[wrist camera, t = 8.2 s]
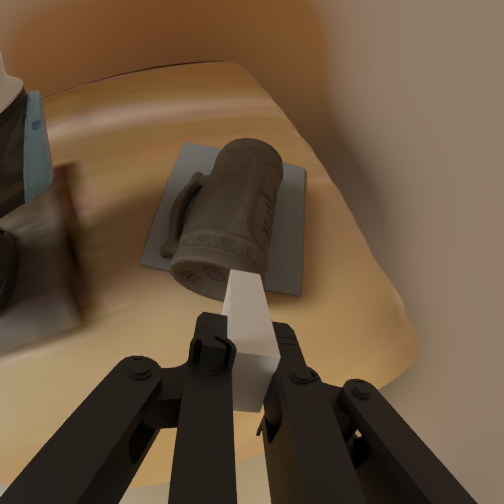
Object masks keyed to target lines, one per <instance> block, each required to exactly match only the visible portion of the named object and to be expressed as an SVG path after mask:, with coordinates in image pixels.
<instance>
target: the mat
mask: <svg viewBox="0 0 504 504" xmlns="http://www.w3.org/2000/svg"><path fill="white" fill-rule="evenodd" d="M221 150H222V149H220V148H215V147H209V146H204V145H198V144H192V143H186V142H185V143H184V145H183V148H182V150H181V152H180V155H179V157H178V159H177V162H176V164H175V166H174V169H173V171H172V174H171V176H170V179H169V181H168V184H167V186H166V189H165V191H164V194H163V196H162V199H161V202H160V204H159V207H158V210H157V213H156V215H155V218H154V221H153V224H152V227H151V230H150V233H149V236H148V239H147V242H146V245H145V248H144V251H143V254H142V257H141V260H140V265H141V266H145V267H150V268H154V269H159V270H163V271H168V272H170V270H169V264H170V261H171V259H172V258H173V256H171V257H169V258H162V256H161V255H160V253H159V249H160V246H161V245H163V244H164V243H165V242H166V241H167V239H168V237H169V222H170V213H171V209H172V206H173V204H174V201H175V199H176V197H177V196H178V194H179V193H180V192H181V191H182V189H183V188H184V187H185V186H186V185H187V184H188V183H189V181H190V180H191V177H192V175H193V174H194V173H196V172H201V173H202V174H203V175H210V174H211V171H212V169H213V167H214V163H215V159H216V157H217V155H218V154H219V152H220V151H221ZM282 163H283V162H282ZM283 170H284V172H283V180H282V182H281V184H280V187H279V191H278V196H277V202H276V208H275V216H274V223H273V229H272V235H271V241H270V246H269V253H268V261H269V265H268V270H267V271H266V274H265V291H271V292H276V293H282V294H288V295H294V296H301V292H302V271H303V245H304V189H305V173H304V168H302V167H298V166H294V165H290V164H286V163H283ZM200 191H201V188H200V189H199V190H198V191H197V192H196V193H195V194H194V196H193V197H192V198H191V200H190V202H189V204H188V206H187V209H186V212H185V217H184V222H183V228H182V232H183V230H184V228H185V224H186V222H187V220H188V218H189V216H190V214H191V212H192V209H193V207H194V205H195V202H196V200H197V198H198V195H199V193H200Z"/></svg>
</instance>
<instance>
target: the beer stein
mask: <svg viewBox="0 0 504 504" xmlns="http://www.w3.org/2000/svg"><path fill="white" fill-rule="evenodd" d="M283 172H284V170H283V163H282V159H281V157H280V155H279V154H278V152H277V151H276V150H275V149H274V148H273V147H272V146H271V145H269V144H267V143H266V142H263V141H261V140H257V139H251V138H242V139H236V140H234V141H232V142H230V143H228V144H227V145H225V147H224V148H223V149H222V150H221V151H220V152H219V154H218V155H217V157H216V159H215V163H214V167H213V169H212V171H211V174H210V175H203V174H202V173H201V172H196V173H194V174H193V175H192V177H191V180H190V181H189V183H188V184H187V185H186V186H185V187H184V188H183V189H182V191H181V192H180V193H179V194H178V196H177V197H176V199H175V201H174V204H173V206H172V209H171V213H170V222H169V237H168V239H167V241H166V242H165V243H164V244H163V245H161V246H160V249H159V253H160V255H161V256H162V258H169V257H171V256H173V258H172V259H171V261H170V264H169V270H170V273H171V275H172V276H173V277H174V279H175V280H176V281H177V282H179V283H180V284H181V285H183V286H184V287H186V288H187V289H189V290H191V291H193V292H195V293H197V294H199V295H202V296H205V297H208V298H211V299H215V300H219V301H224V300H225V295H226V290H227V285H228V280H229V275H230V271H231V269H232V270H238V271H244V272H249V273H255V274H260V277H261V281H262V285H263V289H264V290H265V274H266V271H267V270H268V265H269V261H268V253H269V246H270V241H271V235H272V229H273V223H274V216H275V208H276V202H277V196H278V191H279V187H280V184H281V182H282V180H283ZM200 188H201V191H200V193H199V195H198V198H197V200H196V202H195V205H194V207H193V209H192V212H191V214H190V216H189V218H188V220H187V222H186V224H185V228H184V230H183V232H182V228H183V222H184V217H185V212H186V209H187V206H188V204H189V202H190V200H191V198H192V197H193V196H194V194H195V193H196V192H197V191H198V190H199V189H200Z"/></svg>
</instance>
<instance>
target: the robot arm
mask: <svg viewBox="0 0 504 504" xmlns="http://www.w3.org/2000/svg"><path fill="white" fill-rule="evenodd" d="M52 180H53V165H52V158H51V152H50V146H49V140H48V134H47V128H46V122H45V115H44V109H43V103H42V99H41V94H40V92H39V91H30V92H29V94H26V92H25V89H24V85H23V82H22V80H21V79H19V78H15V77H12V76H8V75H7V74H6V72H5V69H4V65H3V60H2V56H1V51H0V219H1V218H2V217H4V216H5V215H7V214H8V213H10V212H11V211H13V210H15V209H16V208H18V207H19V206H21V205H23V204H24V203H25V204H27V203H28V202H29V200H30V199H32V198H33V197H35V196H37V195H38V194H40V193H41V192H43V191H45V190H46V189H47V188H48V187H49V186H50V184H51V182H52ZM17 272H18V251H17V247H16V244H15V242H14V240H13V239H12V238H11V236H10V235H9V234H8V233H7V232H6V231H5V230H4V229H3V228H1V227H0V310H1V308H2V307H3V306H4V305H5V303H6V302H7V300H8V298H9V297H10V295H11V292H12V290H13V287H14V285H15V281H16V277H17ZM263 404H264V411H265V413H264V416H263V418H262V420H261V423H260V425H259V427H258V430H257V434H256V436H259V435H260V433H261V431H262V434H263V442H264V450H265V458H266V465H267V473H268V481H269V489H270V496H271V504H477V502H476V501H475V500H474V499H473V498H472V497H471V496H470V495H469V493H468V492H467V491H466V490H465V489H464V488H463V486H462V485H461V484H460V483H459V482H458V481H457V480H456V479H455V477H454V476H453V475H452V474H451V473H450V472H449V471H448V470H447V468H446V467H445V466H444V465H443V464H442V463H441V461H440V460H438V458H437V457H436V456H435V455H434V454H433V452H432V451H431V450H430V449H429V448H428V447H427V446H426V445H425V444H424V442H423V441H422V440H421V439H420V438H419V437H418V436H417V434H416V433H415V432H414V431H413V430H412V429H411V428H410V426H409V425H408V424H407V423H406V422H405V421H404V420H403V418H402V417H401V416H400V415H399V414H398V413H397V412H396V410H395V409H394V408H393V407H392V406H391V405H390V404H389V403H388V402H387V400H386V399H385V398H384V397H383V396H382V395H381V394H380V392H379V391H378V390H377V389H376V388H375V387H374V386H373V385H372V384H370V383H368V382H366V381H364V380H360V379H351V380H348V381H346V383H345V384H344V386H343V387H342V388H341V387H337V386H333V385H329V384H326V383H323V382H322V381H321V378H320V377H319V375H318V374H317V372H315V371H314V370H313V369H312V368H309V367H307V366H306V363H305V360H304V357H303V354H302V352H301V349H300V346H299V343H298V340H297V338H296V335H295V332H294V330H293V329H292V328H291V327H290V326H289V325H288V324H286V323H279V322H272V321H271V317H270V313H269V309H268V305H267V301H266V297H265V293H264V289H263V285H262V281H261V277H260V274H255V273H249V272H244V271H238V270H232V269H231V271H230V275H229V280H228V285H227V290H226V295H225V300H224V305H223V310H222V315H220V314H214V313H208V312H203V313H202V314H200V315H199V316H198V317H197V322H196V327H195V332H194V337H193V339H192V341H191V342H190V350H189V358H188V361H187V362H186V363H184V364H183V365H181V366H178V367H174V368H161V367H160V366H159V365H158V363H157V362H156V361H154V360H152V359H150V358H148V357H144V356H130V357H126V358H124V359H123V360H121V361H120V362H119V363H118V364H117V365H116V366H115V367H114V368H113V369H112V371H111V372H110V373H109V374H108V375H107V376H106V377H105V378H104V379H103V380H102V381H101V382H100V384H99V385H98V386H97V387H96V388H95V389H94V390H93V391H92V392H91V393H90V394H89V396H88V397H87V398H86V399H85V400H84V401H83V402H82V403H81V404H80V406H79V407H78V408H77V409H76V410H75V411H74V412H73V413H72V414H71V416H70V417H69V418H68V419H67V420H66V421H65V422H64V423H63V425H62V426H61V427H60V428H59V429H58V430H57V431H56V432H55V434H54V435H53V436H52V437H51V438H50V439H49V440H48V442H47V443H46V444H45V445H44V446H43V447H42V448H41V450H40V451H39V452H38V453H37V454H36V455H35V457H34V458H33V459H32V460H31V461H30V462H29V464H28V465H27V466H26V467H25V468H24V469H23V471H22V472H21V473H20V474H19V475H18V476H17V478H16V479H15V480H14V481H13V482H12V484H11V485H10V486H9V487H8V489H7V490H6V491H5V492H4V493H3V495H2V496H1V497H0V504H119V502H120V500H121V499H122V497H123V495H124V493H125V492H126V490H127V488H128V486H129V485H130V483H131V481H132V479H133V477H134V476H135V474H136V472H137V470H138V469H139V467H140V465H141V463H142V462H143V460H144V458H145V456H146V455H147V453H148V451H149V449H150V447H151V446H152V444H153V442H154V440H155V439H156V437H157V435H158V433H159V431H160V429H163V428H177V434H176V441H175V449H174V456H173V464H172V472H171V481H170V489H169V499H168V504H237V492H236V472H235V450H234V425H233V410H235V411H245V412H258V413H260V411H261V408H262V406H263ZM357 429H358V431H359V432H360V433H361V435H362V436H361V437H358V436H357V435H356V434H355V432H356V431H357Z"/></svg>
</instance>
